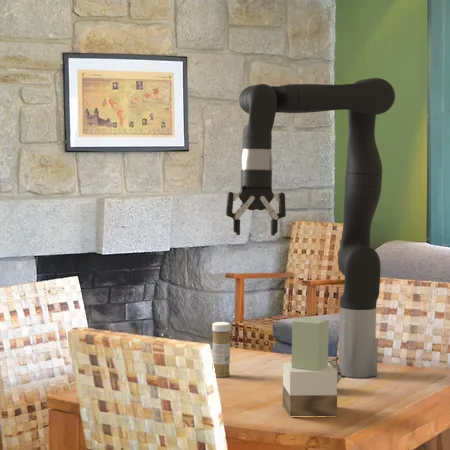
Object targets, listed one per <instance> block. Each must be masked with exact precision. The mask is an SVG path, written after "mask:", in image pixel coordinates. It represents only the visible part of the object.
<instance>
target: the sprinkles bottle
mask: <svg viewBox="0 0 450 450" xmlns="http://www.w3.org/2000/svg"><path fill="white" fill-rule="evenodd" d="M211 329H212V349H211V351H212V356H213V362H214V368H215V373H216V378H228V377H229V376H230V362H231V341H230V339H231V337H230V335H231V334H230V333H231V323H230V322H227V321H216V322H213V323H212V326H211Z"/></svg>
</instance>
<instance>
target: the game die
mask: <svg viewBox="0 0 450 450" xmlns="http://www.w3.org/2000/svg"><path fill="white" fill-rule="evenodd" d="M338 361H339V356H337V357H336V358H335V359H334V358H333V359H332V358H331V359H330V358H328V362H329V364H330V365H331V366H332V367H333V368H334V369H335V370H336V371H337V385H338V384H339V382H340V381H341V380H342V379H345V378H346V376H343V375H342V374H341V371H340V368H339V366H338V364H339V362H338Z"/></svg>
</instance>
